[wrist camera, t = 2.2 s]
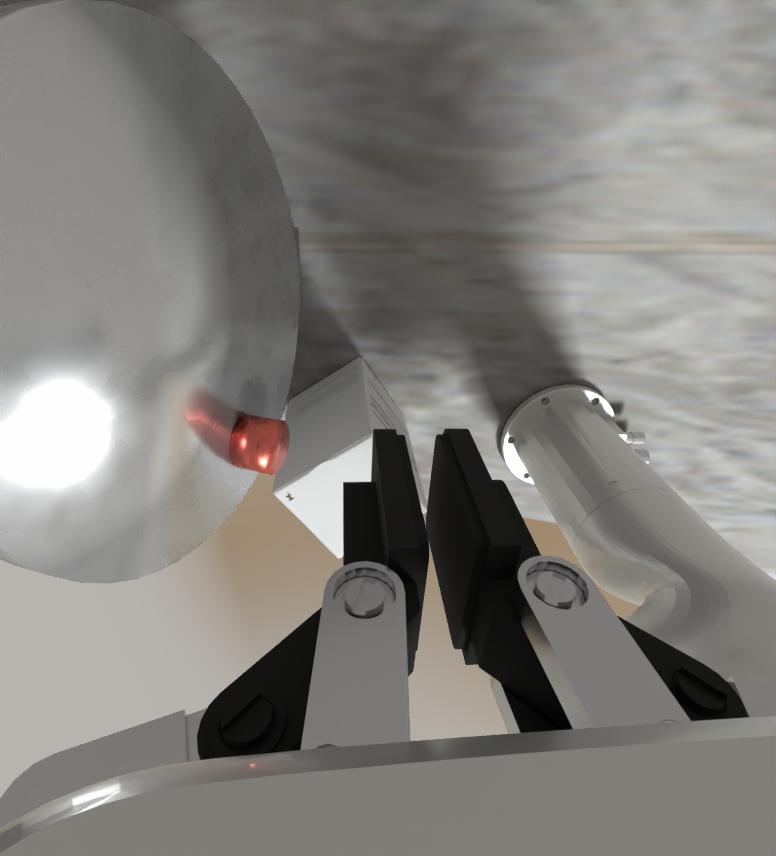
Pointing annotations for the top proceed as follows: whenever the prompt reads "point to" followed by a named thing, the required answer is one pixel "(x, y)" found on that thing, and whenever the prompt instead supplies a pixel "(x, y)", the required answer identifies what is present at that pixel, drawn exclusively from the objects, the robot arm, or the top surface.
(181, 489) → the lid
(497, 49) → the top surface
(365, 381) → the supplement box
